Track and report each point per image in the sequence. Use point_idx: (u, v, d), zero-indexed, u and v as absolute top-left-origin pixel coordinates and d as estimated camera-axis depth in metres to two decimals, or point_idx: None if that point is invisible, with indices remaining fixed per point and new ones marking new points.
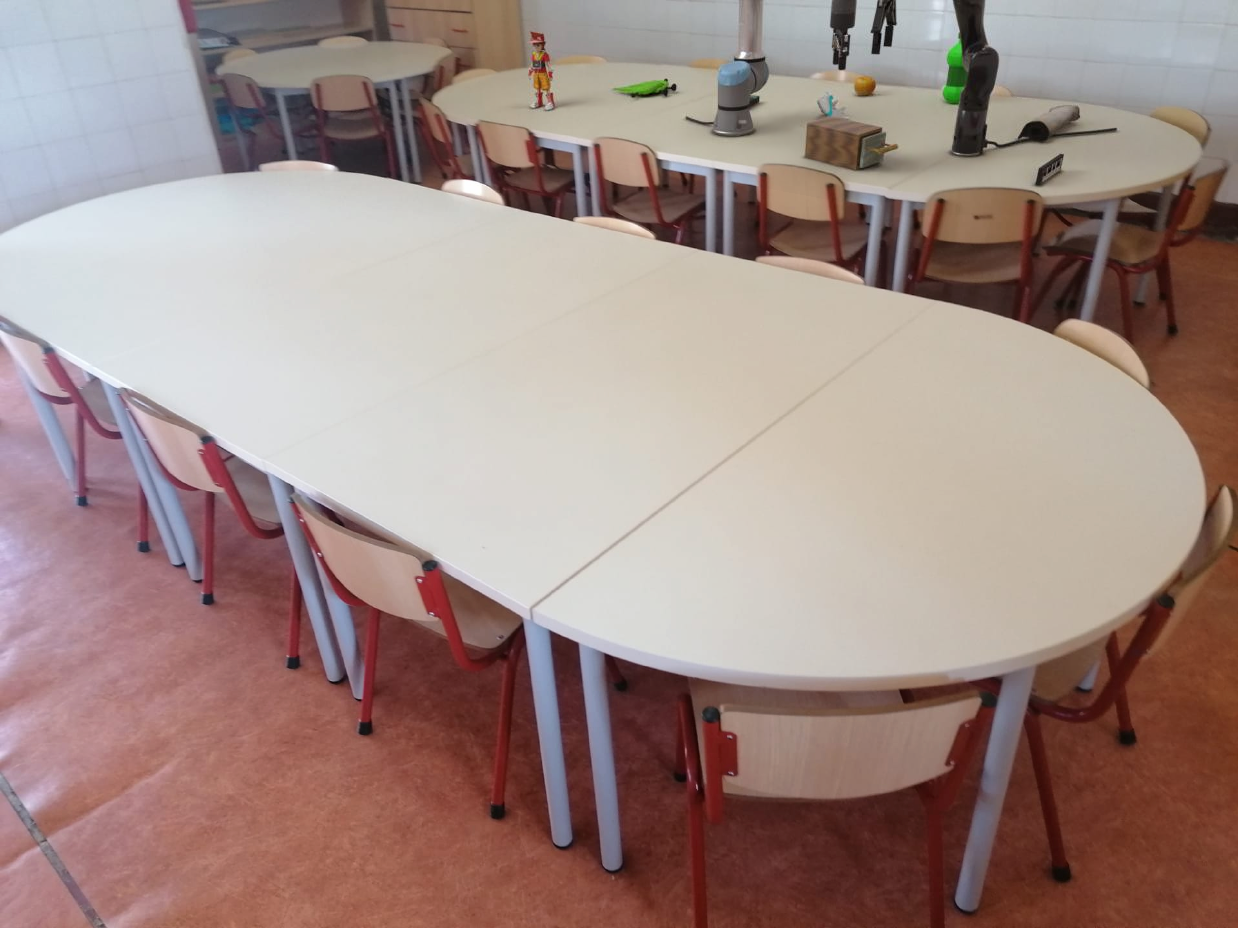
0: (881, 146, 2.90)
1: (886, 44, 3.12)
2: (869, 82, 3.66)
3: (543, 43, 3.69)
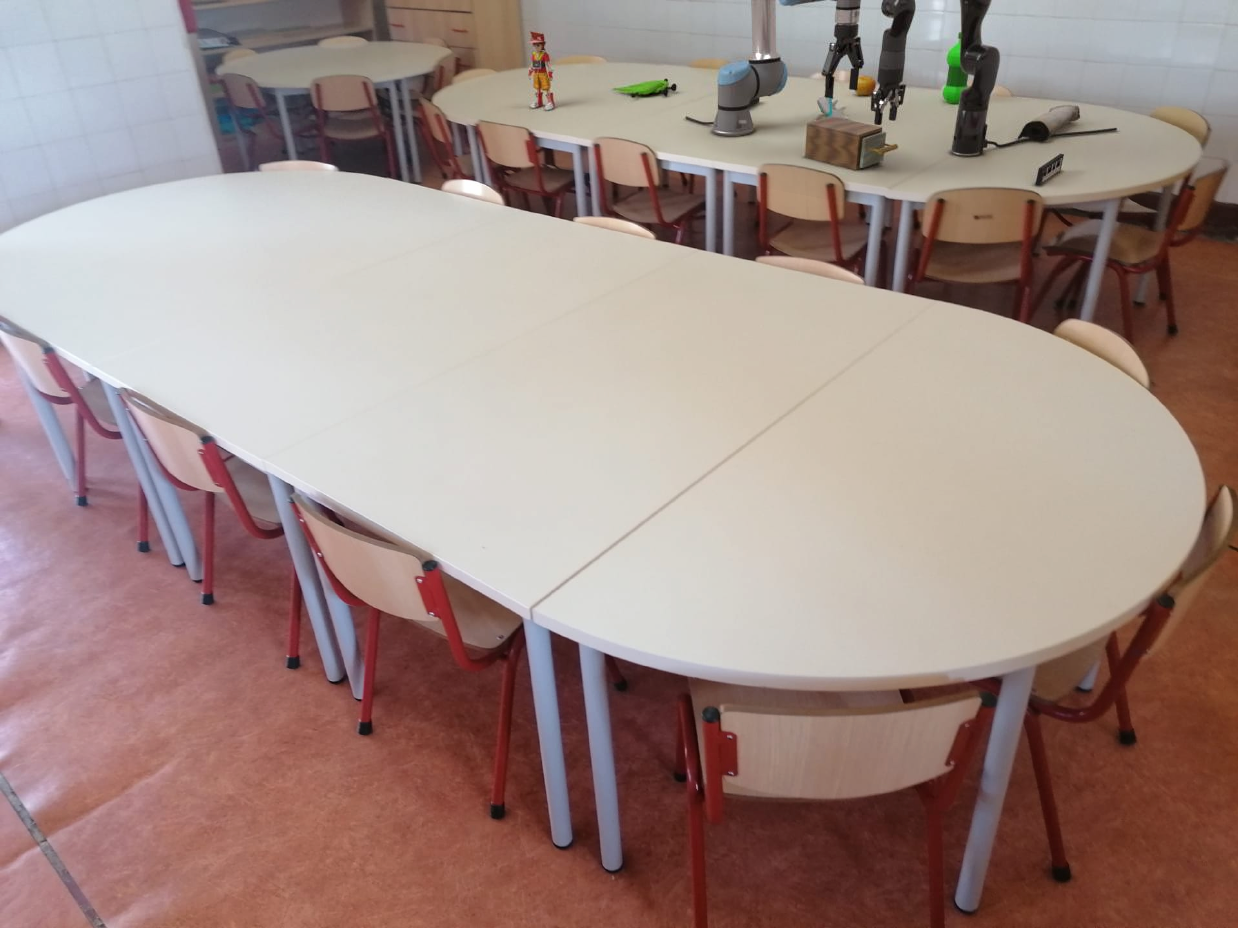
0: (881, 146, 2.90)
1: (851, 87, 3.01)
2: (869, 82, 3.66)
3: (543, 43, 3.69)
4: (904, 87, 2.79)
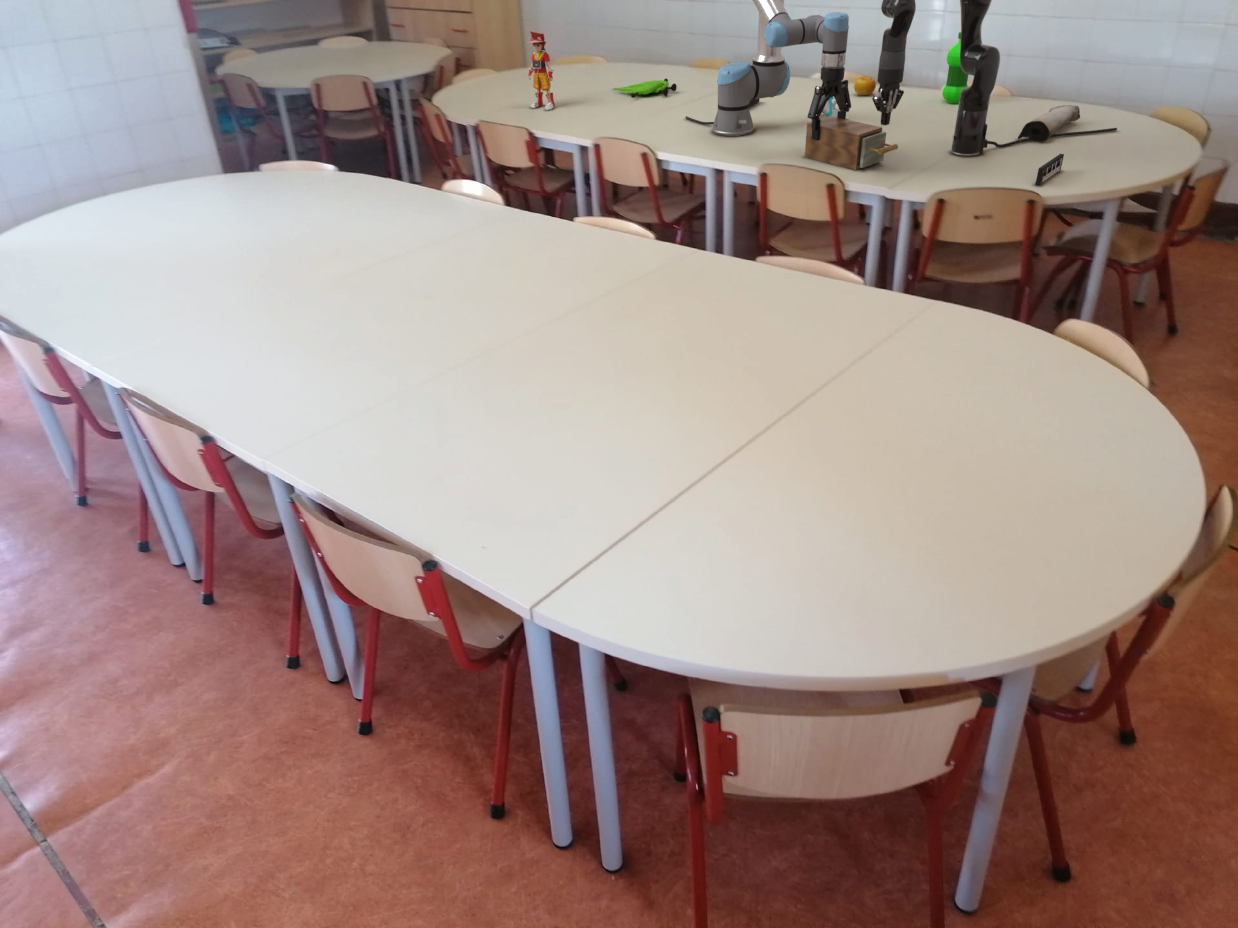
0: (881, 146, 2.90)
1: None
2: (869, 82, 3.66)
3: (543, 43, 3.69)
4: (902, 93, 2.79)
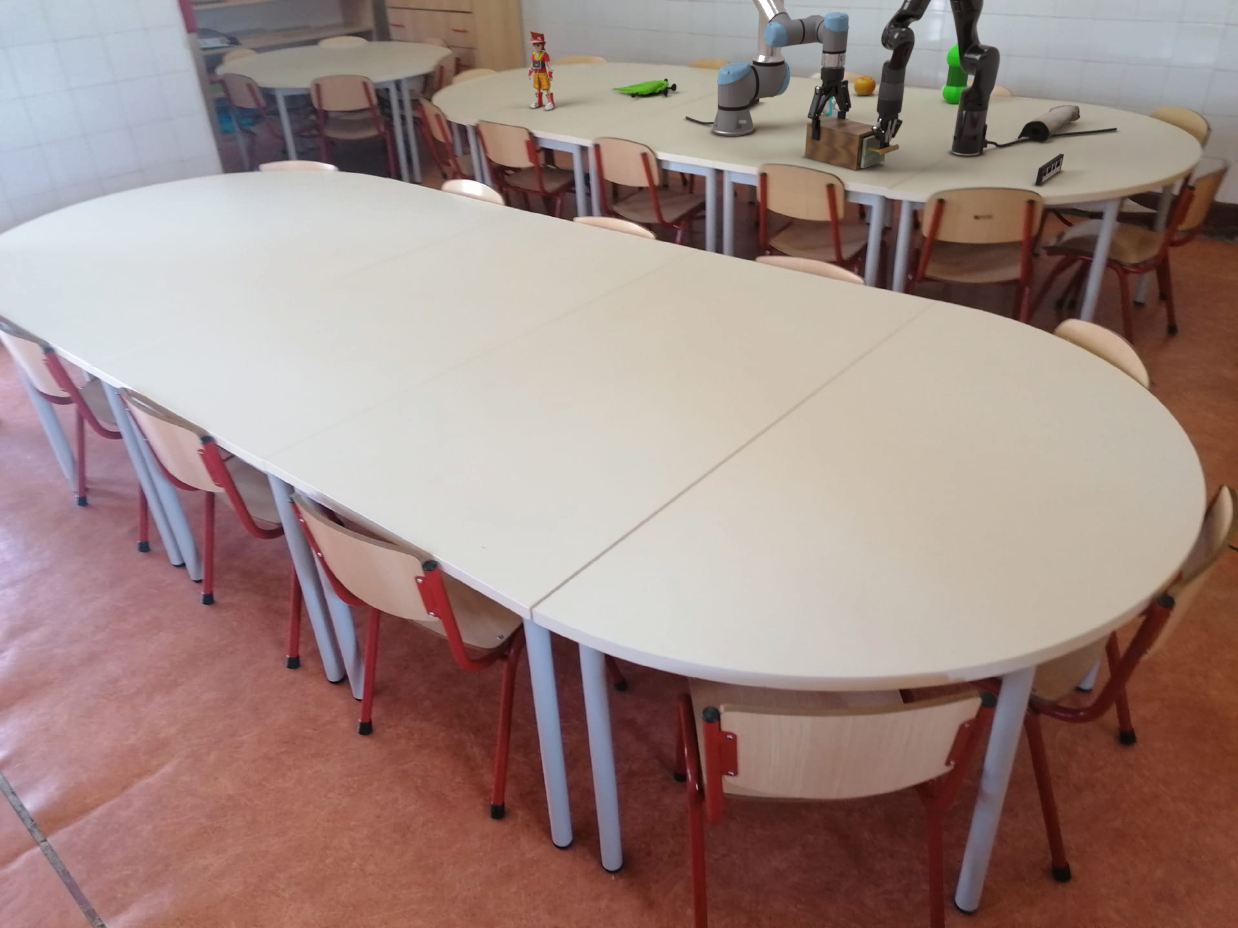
0: None
1: None
2: (869, 82, 3.66)
3: (543, 43, 3.69)
4: (901, 122, 2.84)
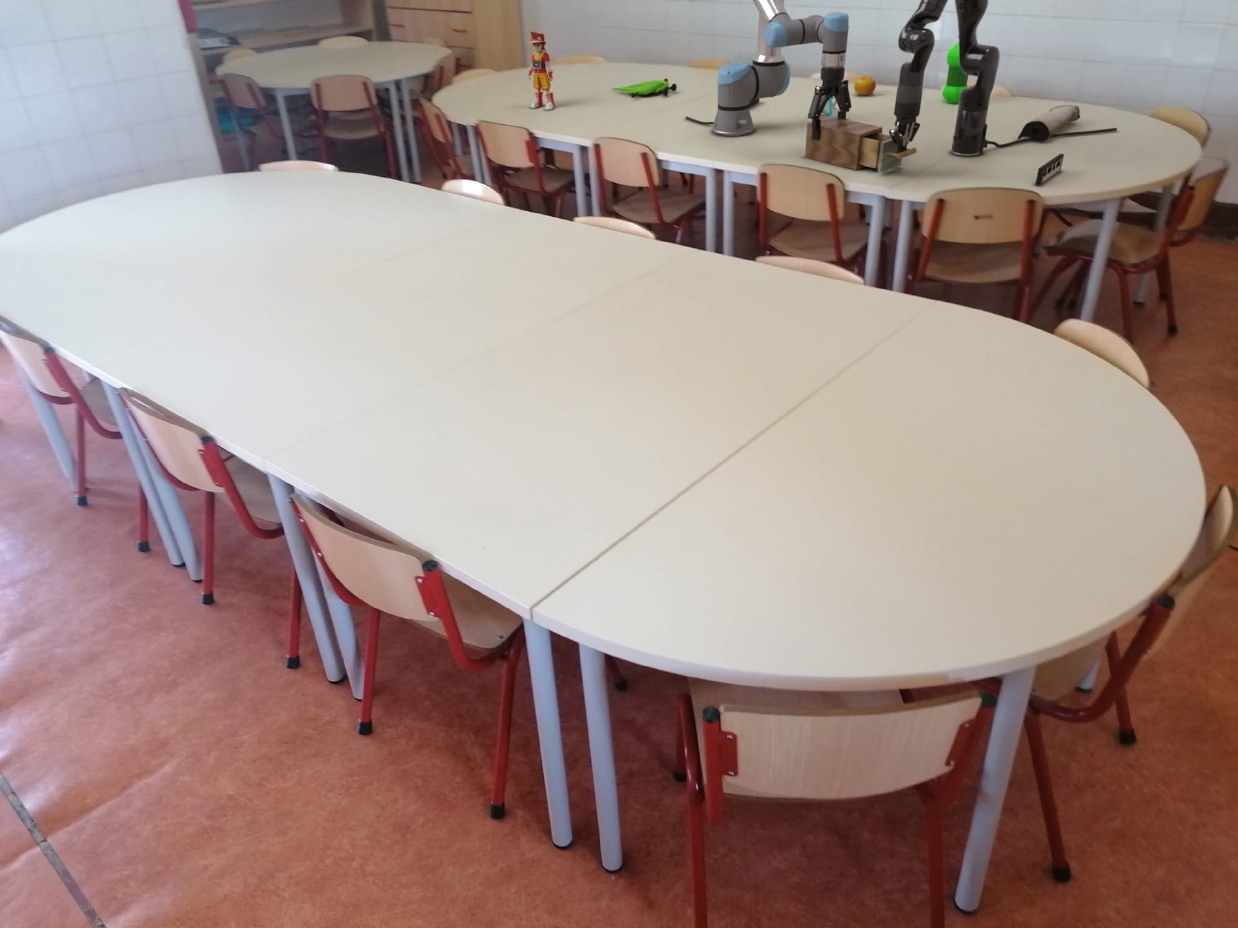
0: None
1: None
2: (869, 82, 3.66)
3: (543, 43, 3.69)
4: (918, 126, 2.79)
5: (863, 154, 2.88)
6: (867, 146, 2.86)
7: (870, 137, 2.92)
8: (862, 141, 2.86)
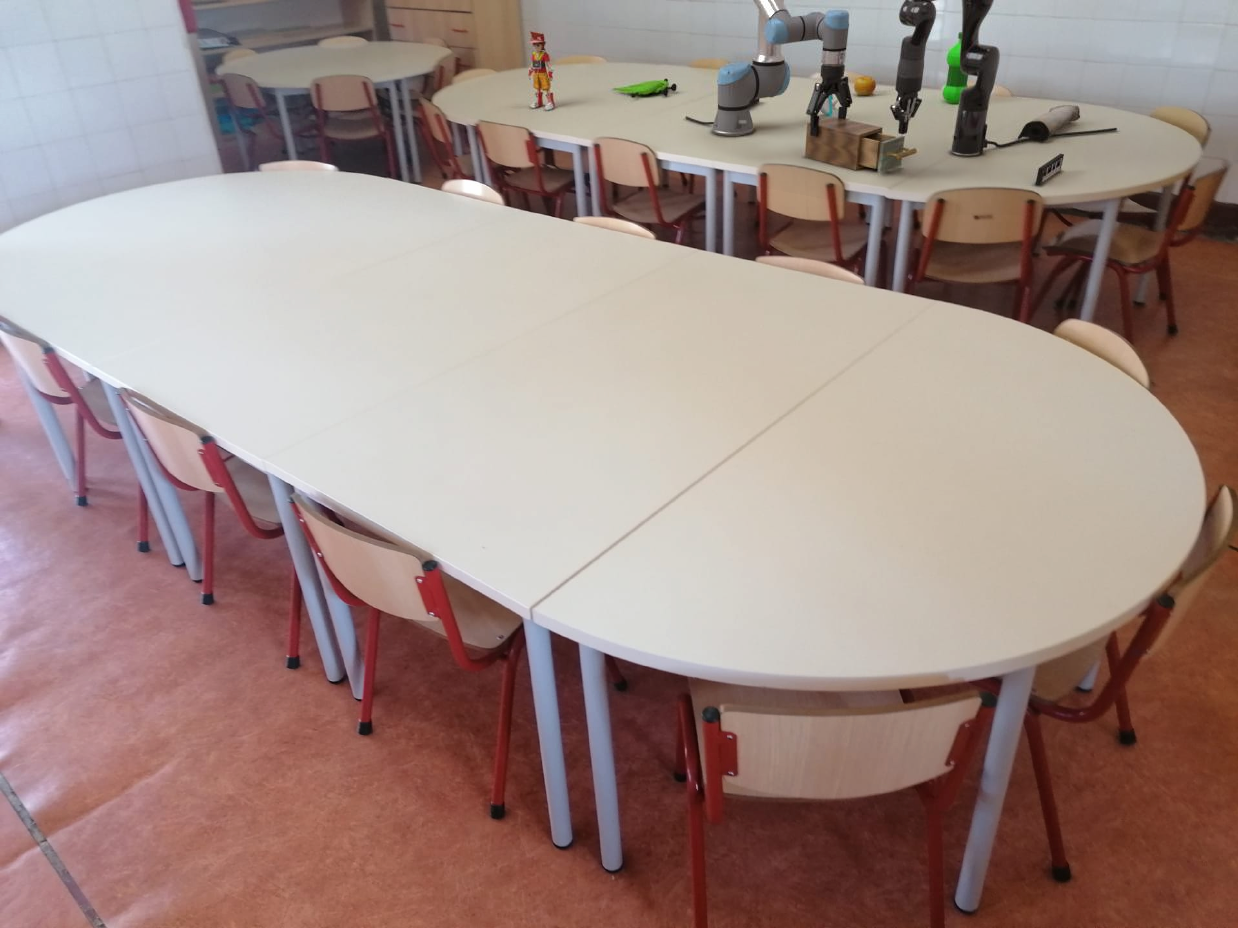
0: (899, 150, 2.86)
1: None
2: (869, 82, 3.66)
3: (543, 43, 3.69)
4: (920, 101, 2.75)
5: (863, 154, 2.88)
6: (867, 146, 2.86)
7: (870, 137, 2.92)
8: (862, 141, 2.86)
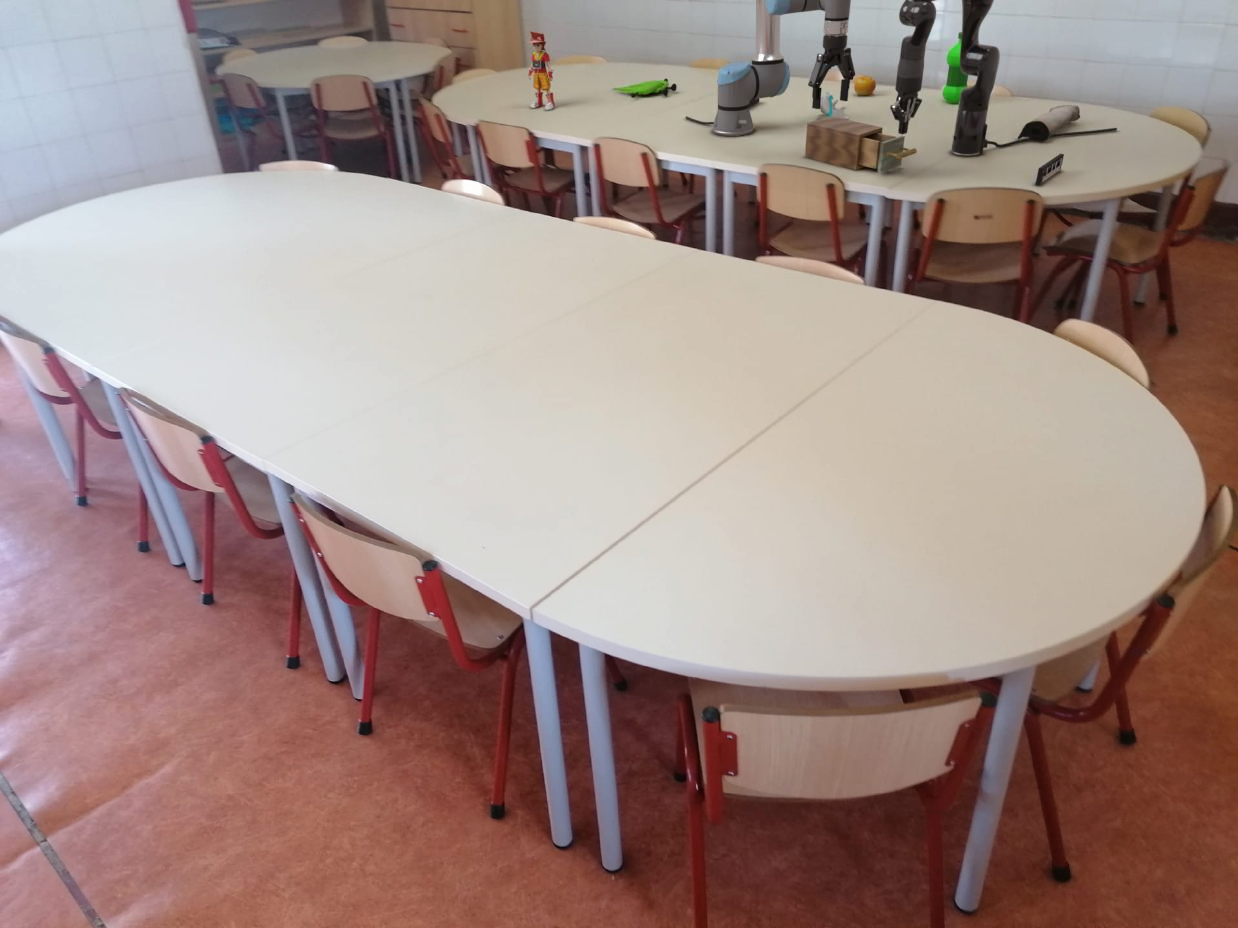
0: (899, 150, 2.86)
1: (842, 98, 2.99)
2: (869, 82, 3.66)
3: (543, 43, 3.69)
4: (920, 101, 2.75)
5: (863, 154, 2.88)
6: (867, 146, 2.86)
7: (870, 137, 2.92)
8: (862, 141, 2.86)
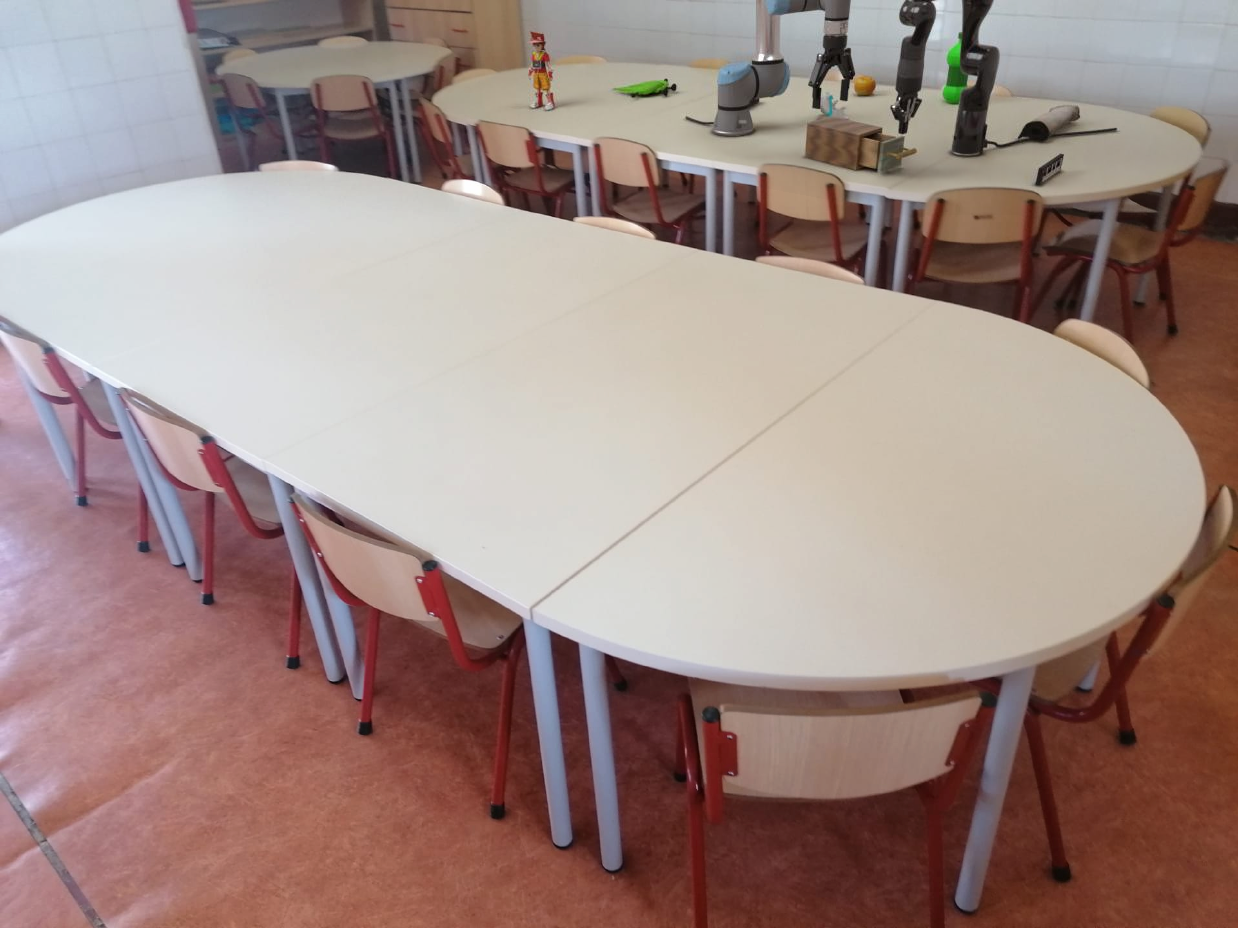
0: (899, 150, 2.86)
1: (842, 98, 2.99)
2: (869, 82, 3.66)
3: (543, 43, 3.69)
4: (920, 101, 2.75)
5: (863, 154, 2.88)
6: (867, 146, 2.86)
7: (870, 137, 2.92)
8: (862, 141, 2.86)
